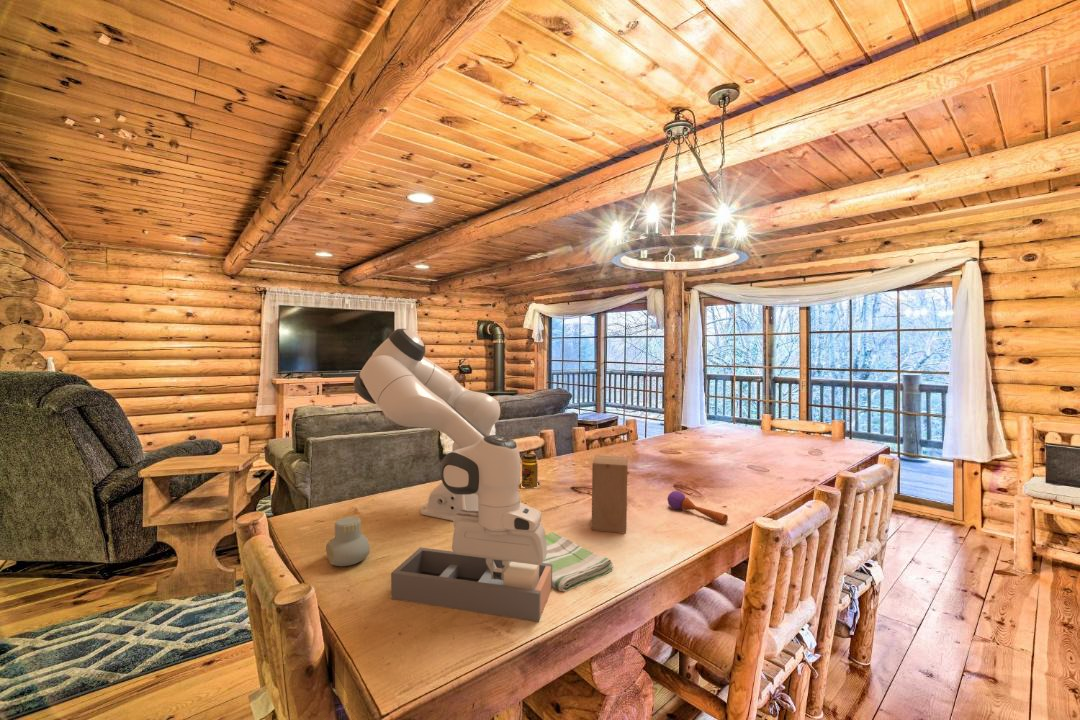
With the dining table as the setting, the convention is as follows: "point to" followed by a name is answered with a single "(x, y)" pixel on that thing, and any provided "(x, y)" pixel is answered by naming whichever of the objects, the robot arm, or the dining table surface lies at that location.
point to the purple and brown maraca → (693, 507)
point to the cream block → (521, 575)
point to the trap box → (467, 585)
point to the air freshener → (347, 543)
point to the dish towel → (573, 563)
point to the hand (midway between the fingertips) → (498, 578)
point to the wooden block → (609, 494)
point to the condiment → (530, 471)
